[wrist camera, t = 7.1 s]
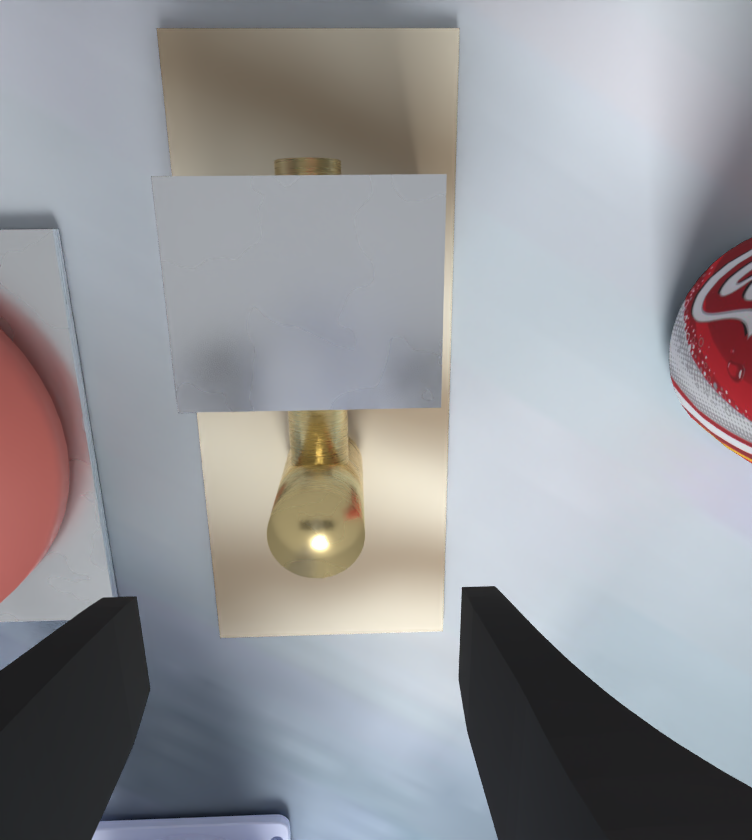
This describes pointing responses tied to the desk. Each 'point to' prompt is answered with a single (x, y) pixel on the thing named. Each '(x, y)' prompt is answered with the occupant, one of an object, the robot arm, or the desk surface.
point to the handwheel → (28, 468)
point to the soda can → (718, 350)
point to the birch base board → (369, 428)
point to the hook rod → (318, 471)
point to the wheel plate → (62, 377)
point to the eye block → (303, 290)
